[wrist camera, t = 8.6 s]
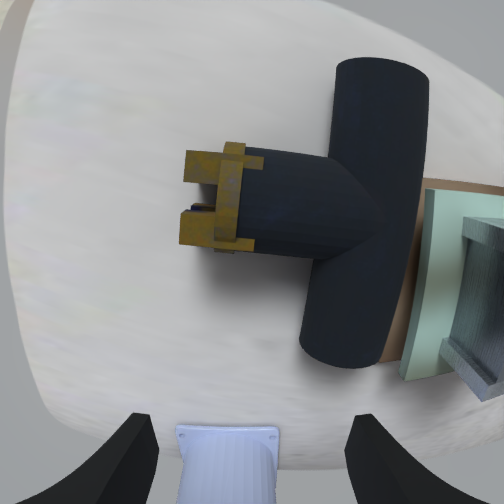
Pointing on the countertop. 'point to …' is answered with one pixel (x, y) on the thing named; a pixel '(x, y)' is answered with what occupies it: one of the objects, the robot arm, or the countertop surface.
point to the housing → (480, 311)
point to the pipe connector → (330, 207)
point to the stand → (435, 274)
